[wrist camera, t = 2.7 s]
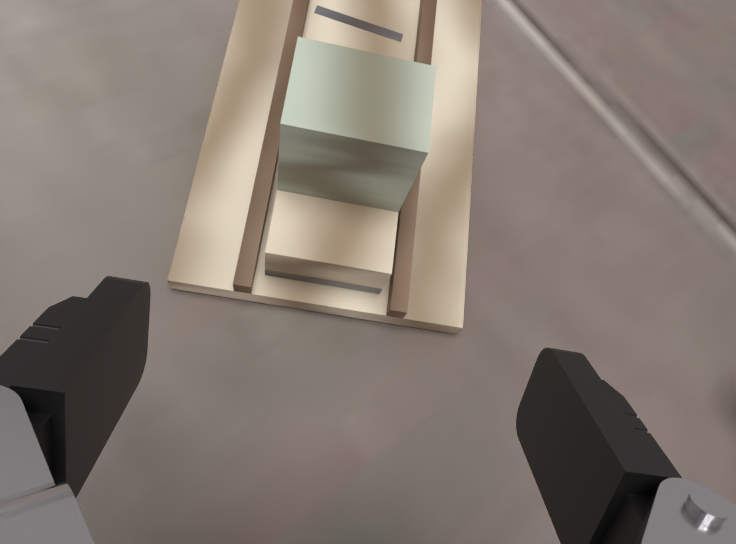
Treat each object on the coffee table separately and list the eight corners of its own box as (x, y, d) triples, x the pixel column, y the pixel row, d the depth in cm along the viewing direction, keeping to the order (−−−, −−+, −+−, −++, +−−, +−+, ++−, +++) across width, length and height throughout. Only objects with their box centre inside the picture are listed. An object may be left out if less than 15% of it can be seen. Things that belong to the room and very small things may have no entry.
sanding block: (264, 275, 27) (265, 197, 20) (298, 100, 31) (309, -22, 23) (379, 294, 28) (421, 225, 20) (399, 120, 31) (441, 8, 24)
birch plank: (171, 288, 27) (163, 272, 25) (265, -84, 36) (265, -118, 34) (455, 333, 29) (469, 322, 27) (478, -33, 38) (490, -63, 36)
